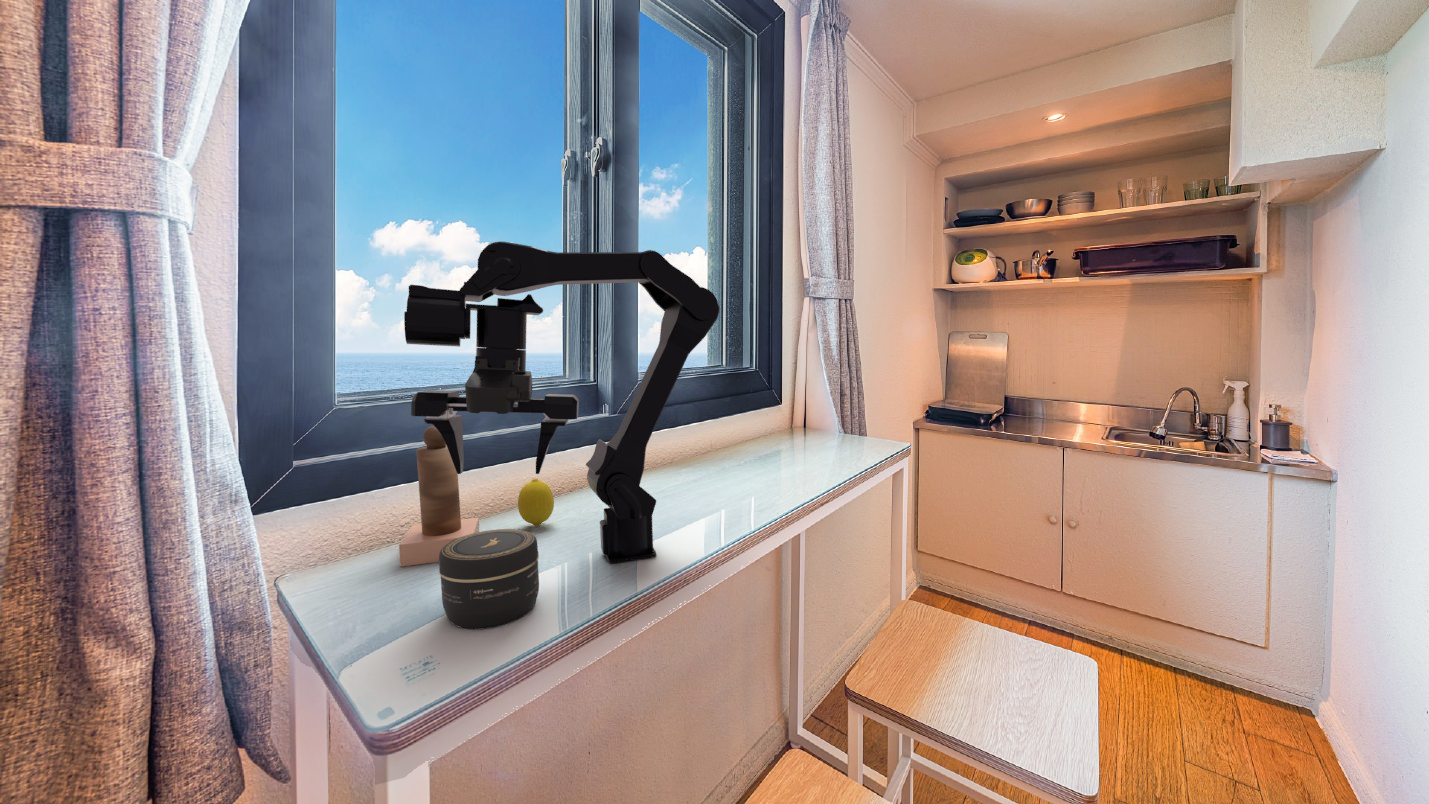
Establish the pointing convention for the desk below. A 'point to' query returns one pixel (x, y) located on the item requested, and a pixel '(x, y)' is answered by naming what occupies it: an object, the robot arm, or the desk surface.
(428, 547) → the pink block base
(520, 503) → the lemon
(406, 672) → the desk surface
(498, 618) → the jar
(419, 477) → the pepper mill
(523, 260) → the robot arm
